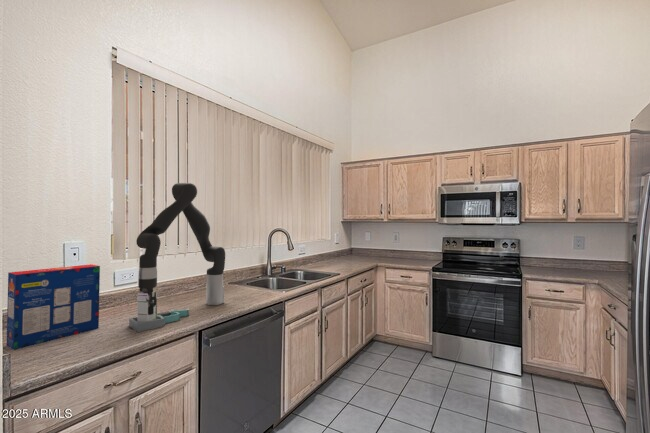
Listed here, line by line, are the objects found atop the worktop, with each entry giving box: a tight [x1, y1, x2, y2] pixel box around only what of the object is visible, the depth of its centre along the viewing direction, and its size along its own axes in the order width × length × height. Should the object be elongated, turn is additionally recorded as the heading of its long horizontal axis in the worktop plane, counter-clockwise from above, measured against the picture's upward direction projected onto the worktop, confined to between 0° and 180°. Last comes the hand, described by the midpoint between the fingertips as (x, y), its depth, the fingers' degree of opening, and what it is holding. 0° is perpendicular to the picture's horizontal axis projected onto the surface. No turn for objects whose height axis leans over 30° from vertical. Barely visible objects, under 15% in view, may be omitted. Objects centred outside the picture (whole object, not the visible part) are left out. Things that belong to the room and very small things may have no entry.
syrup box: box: [136, 290, 158, 323], centre depth 147 cm, size 6×6×14 cm
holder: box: [128, 315, 165, 333], centre depth 147 cm, size 11×11×4 cm
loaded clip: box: [170, 307, 190, 318], centre depth 164 cm, size 8×5×3 cm, turn 113°
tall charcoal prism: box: [157, 311, 171, 317], centre depth 160 cm, size 6×3×3 cm, turn 138°
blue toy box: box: [6, 263, 101, 351], centre depth 133 cm, size 28×8×28 cm, turn 149°
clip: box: [159, 312, 181, 324], centre depth 155 cm, size 8×5×3 cm, turn 138°
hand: (147, 312), depth 147 cm, fingers closed on syrup box, 7 cm apart
